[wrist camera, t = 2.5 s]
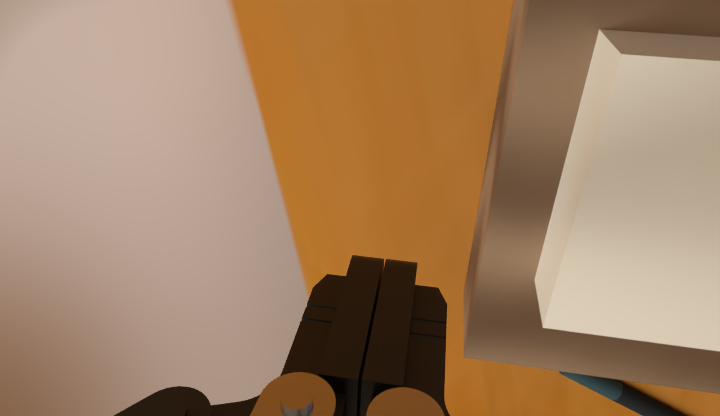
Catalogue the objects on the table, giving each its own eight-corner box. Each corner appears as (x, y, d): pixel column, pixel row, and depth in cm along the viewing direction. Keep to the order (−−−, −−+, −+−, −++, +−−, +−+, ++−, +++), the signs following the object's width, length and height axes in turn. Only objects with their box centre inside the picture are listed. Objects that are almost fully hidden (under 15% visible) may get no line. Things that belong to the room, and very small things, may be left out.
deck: (541, -160, 16) (561, -169, 13) (991, -150, 15) (1149, -157, 11) (463, 294, 26) (463, 357, 22) (731, 329, 24) (774, 402, 21)
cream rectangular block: (599, 29, 15) (621, 54, 13) (835, 44, 14) (899, 73, 12) (534, 279, 20) (543, 327, 18) (708, 301, 19) (738, 353, 17)
